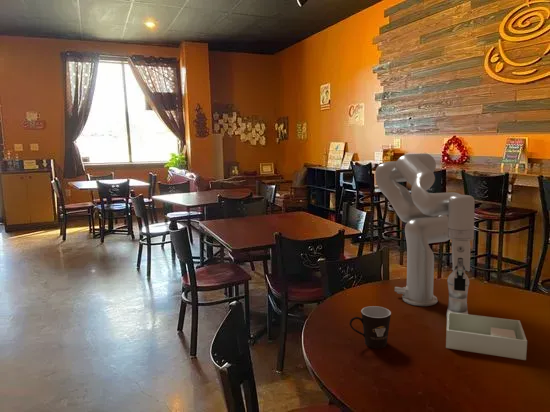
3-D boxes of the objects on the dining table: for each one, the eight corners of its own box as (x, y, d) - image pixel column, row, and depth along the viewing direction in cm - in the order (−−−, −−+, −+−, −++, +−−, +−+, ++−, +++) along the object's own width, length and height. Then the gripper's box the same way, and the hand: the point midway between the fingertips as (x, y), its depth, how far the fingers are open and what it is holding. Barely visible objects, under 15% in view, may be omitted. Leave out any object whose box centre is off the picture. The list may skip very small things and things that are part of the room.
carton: (491, 347, 119) (492, 334, 119) (490, 339, 124) (490, 327, 123) (515, 351, 117) (516, 337, 116) (513, 343, 122) (513, 330, 121)
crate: (445, 349, 120) (446, 330, 119) (446, 329, 133) (447, 311, 132) (525, 362, 112) (527, 341, 111) (518, 339, 125) (519, 320, 124)
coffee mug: (391, 338, 128) (391, 307, 126) (389, 352, 120) (389, 319, 118) (353, 334, 132) (353, 304, 130) (349, 346, 124) (349, 314, 122)
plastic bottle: (470, 328, 133) (473, 268, 130) (448, 326, 135) (450, 267, 132) (465, 319, 140) (467, 262, 137) (444, 318, 141) (446, 261, 138)
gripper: (474, 239, 123) (473, 295, 125) (472, 229, 139) (471, 279, 141) (447, 238, 126) (446, 293, 128) (448, 228, 142) (447, 277, 144)
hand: (459, 285), depth 135 cm, fingers open, 9 cm apart
